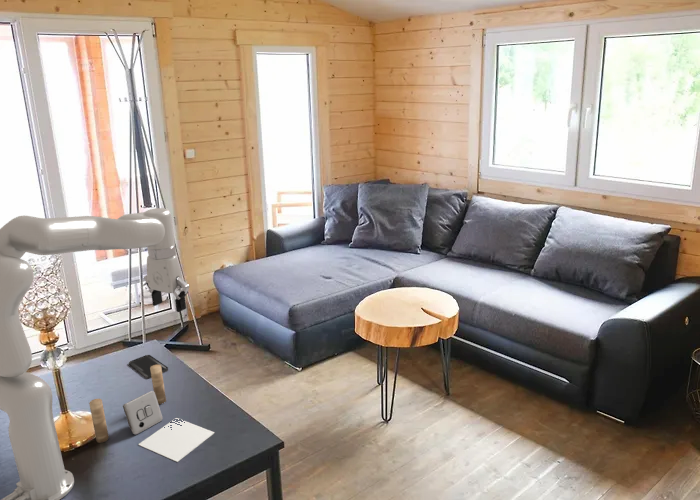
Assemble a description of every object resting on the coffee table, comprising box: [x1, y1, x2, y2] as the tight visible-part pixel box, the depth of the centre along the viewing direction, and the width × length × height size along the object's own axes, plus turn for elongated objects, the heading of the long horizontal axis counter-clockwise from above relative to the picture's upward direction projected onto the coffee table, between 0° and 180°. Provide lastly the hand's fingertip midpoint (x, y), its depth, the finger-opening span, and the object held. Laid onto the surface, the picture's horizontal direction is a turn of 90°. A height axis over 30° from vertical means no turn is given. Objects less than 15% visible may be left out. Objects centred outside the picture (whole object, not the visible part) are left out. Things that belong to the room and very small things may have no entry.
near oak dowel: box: [88, 398, 110, 444], centre depth 157 cm, size 3×3×12 cm
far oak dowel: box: [150, 365, 167, 405], centre depth 174 cm, size 3×3×12 cm
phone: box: [128, 354, 169, 379], centre depth 196 cm, size 8×1×15 cm
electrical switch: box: [122, 390, 163, 435], centre depth 163 cm, size 9×5×9 cm, turn 141°
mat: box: [138, 417, 215, 463], centre depth 158 cm, size 14×15×1 cm
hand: (169, 307), depth 167 cm, fingers open, 9 cm apart
